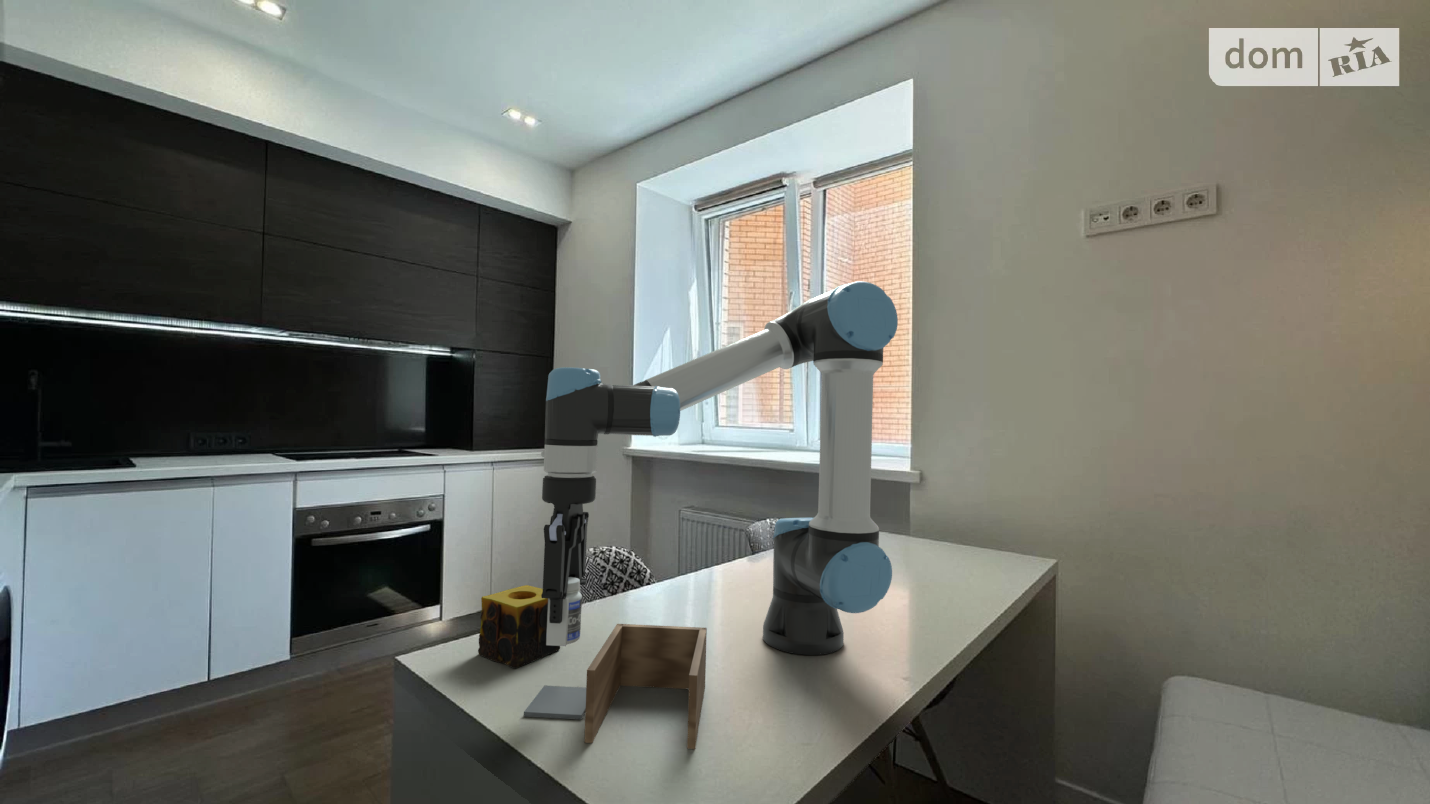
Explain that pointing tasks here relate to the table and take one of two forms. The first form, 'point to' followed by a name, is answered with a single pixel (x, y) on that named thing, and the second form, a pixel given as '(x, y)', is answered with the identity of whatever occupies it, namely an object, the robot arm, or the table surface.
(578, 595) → the pill bottle
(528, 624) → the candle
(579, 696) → the slate coaster
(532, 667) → the table surface
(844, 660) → the table surface
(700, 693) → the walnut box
